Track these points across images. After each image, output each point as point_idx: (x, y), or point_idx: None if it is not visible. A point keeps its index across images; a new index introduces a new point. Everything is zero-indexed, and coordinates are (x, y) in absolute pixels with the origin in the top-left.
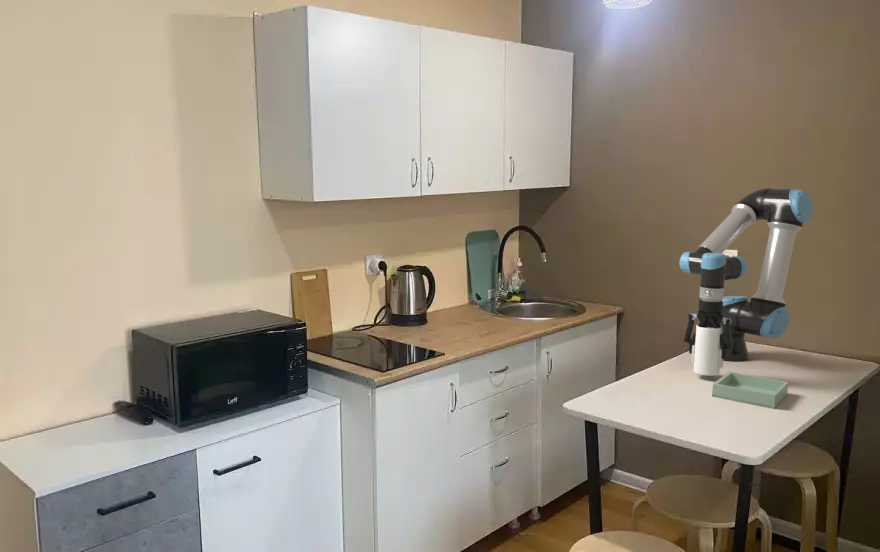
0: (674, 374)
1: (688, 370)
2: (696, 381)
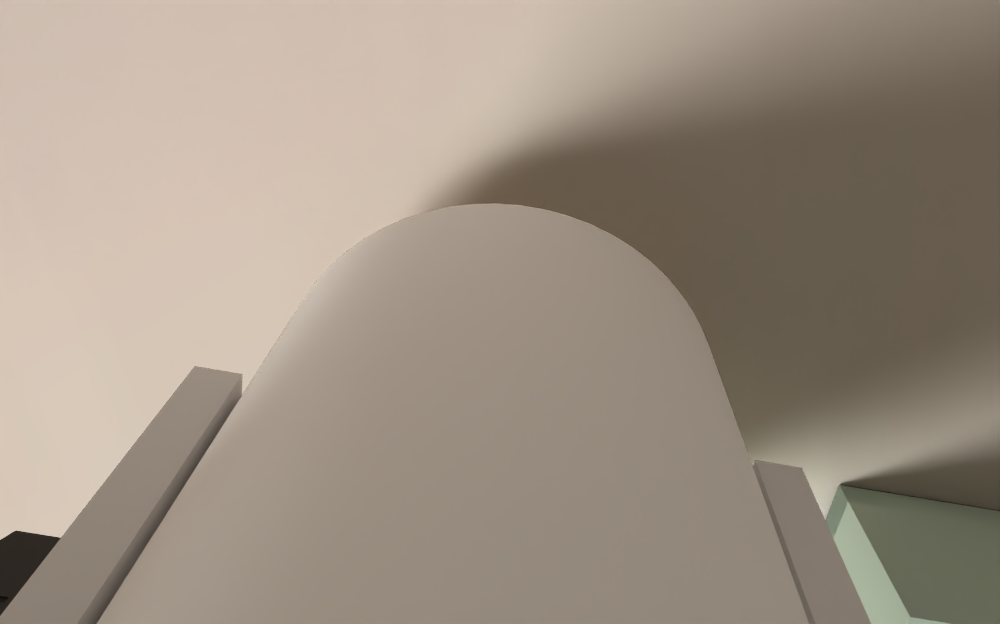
0: (44, 405)
1: (132, 27)
2: None
